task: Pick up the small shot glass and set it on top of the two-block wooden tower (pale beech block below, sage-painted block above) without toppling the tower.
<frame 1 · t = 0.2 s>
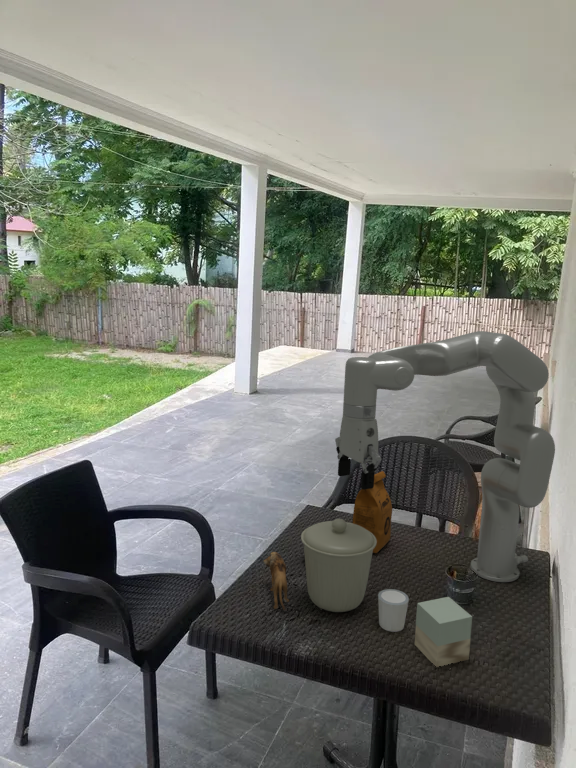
hand: (355, 481, 136), 31 cm above the table, tool pointing down, fingers open, 9 cm apart
shot glass: (391, 625, 132), on the table
tower top: (442, 631, 122), point 5 cm above the table, touching tower base
canister: (335, 601, 141), on the table
coffee package: (371, 546, 171), on the table
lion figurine: (277, 596, 143), on the table
tower base: (441, 652, 123), on the table, touching tower top
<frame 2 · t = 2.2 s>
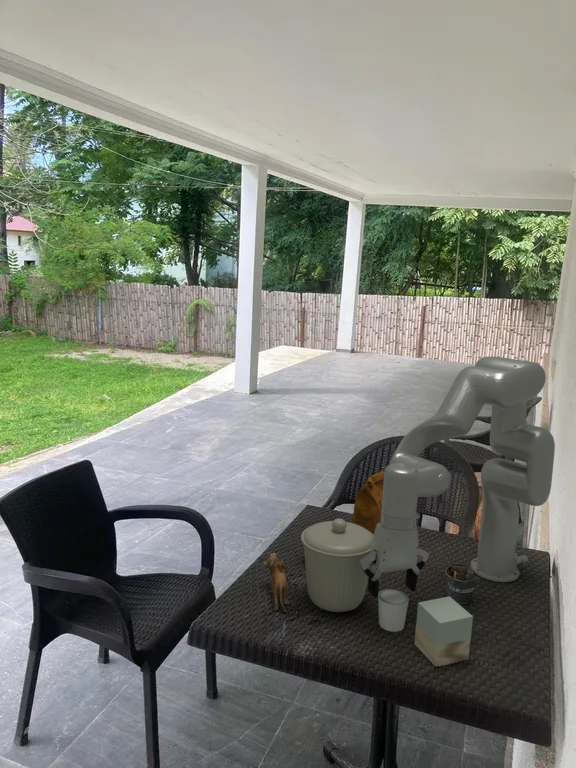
hand: (392, 591, 130), 8 cm above the table, tool pointing down, fingers open, 9 cm apart
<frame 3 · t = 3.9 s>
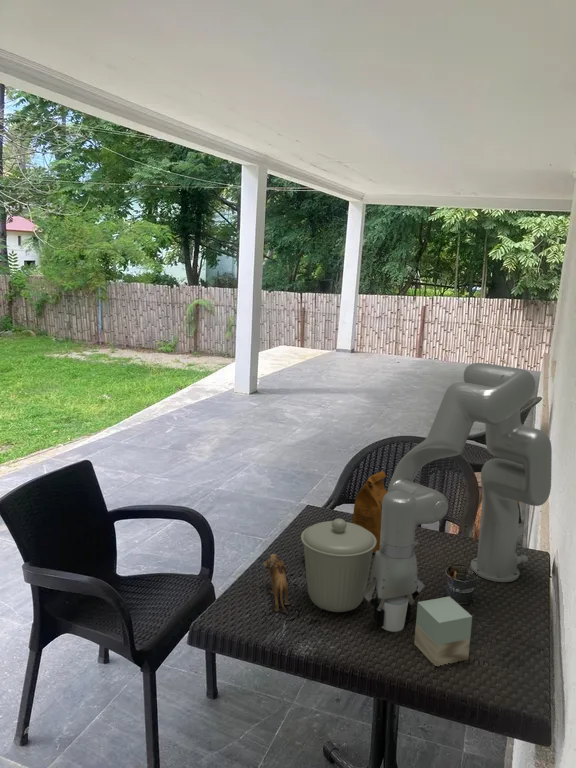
hand: (391, 619, 132), 1 cm above the table, tool pointing down, fingers closed on shot glass, 6 cm apart
shot glass: (391, 625, 132), on the table, touching gripper
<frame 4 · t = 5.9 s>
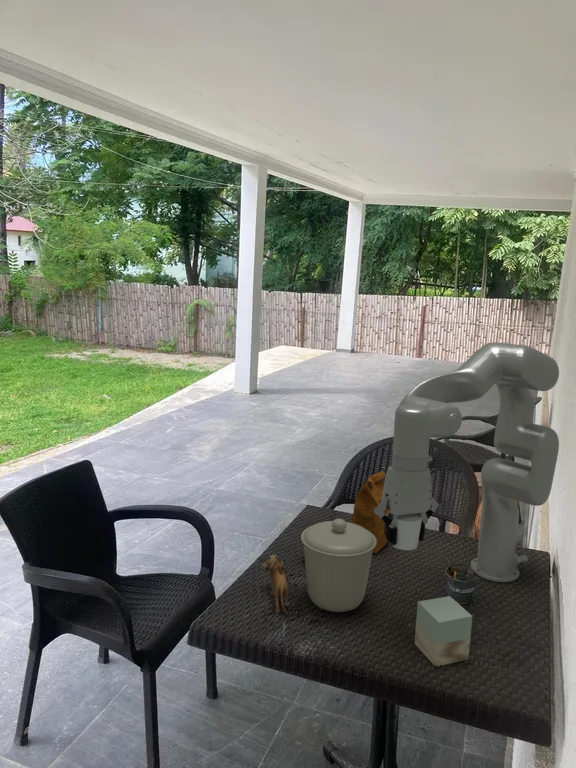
hand: (404, 539, 127), 21 cm above the table, tool pointing down, fingers closed on shot glass, 6 cm apart
shot glass: (404, 545, 127), point 20 cm above the table, touching gripper
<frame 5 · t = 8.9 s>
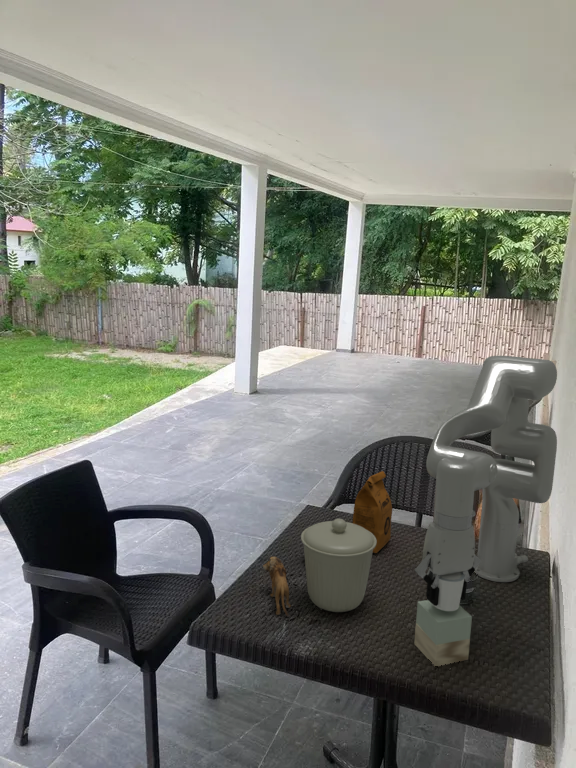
hand: (445, 598, 121), 12 cm above the table, tool pointing down, fingers closed on shot glass, 6 cm apart
shot glass: (445, 604, 121), point 11 cm above the table, touching gripper
when the fingers open (12 cm above the table, at t = 9.2 s): shot glass drops 1 cm, resting on tower top.
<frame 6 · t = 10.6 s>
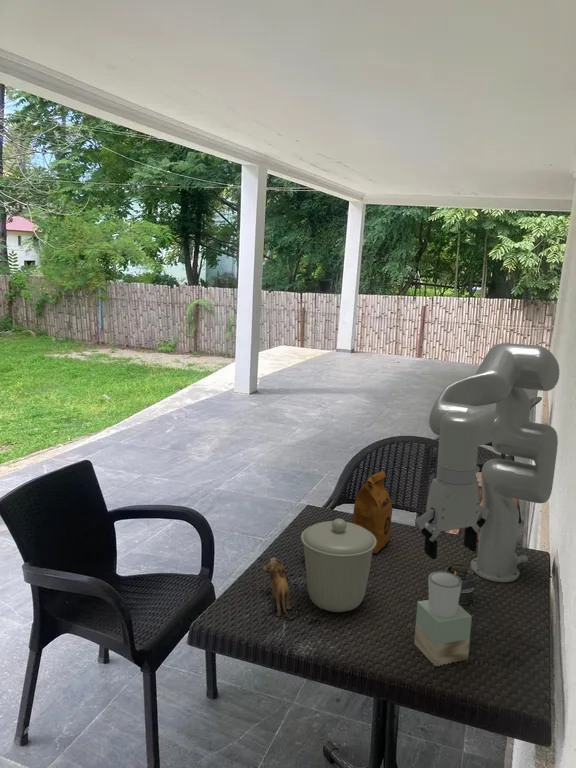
hand: (450, 552, 119), 22 cm above the table, tool pointing down, fingers open, 9 cm apart
shot glass: (442, 610, 121), point 10 cm above the table, touching tower top
tower top: (442, 630, 122), point 5 cm above the table, touching shot glass, tower base
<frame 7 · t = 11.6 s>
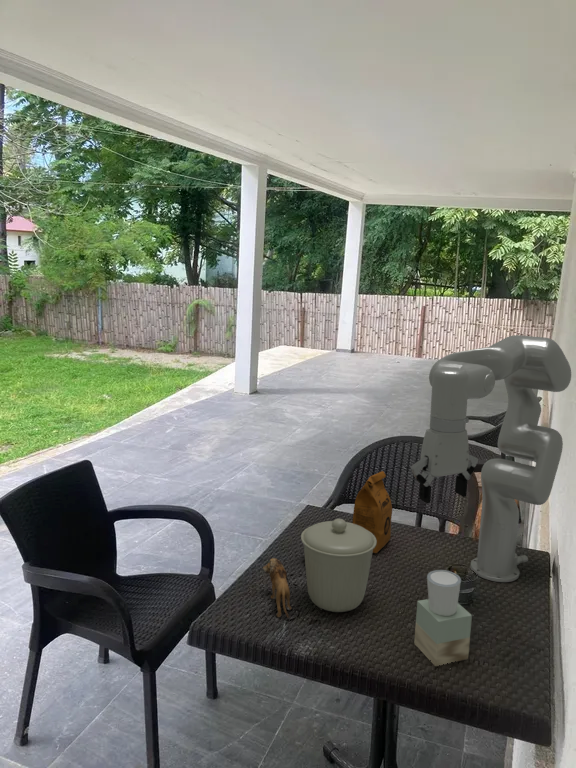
hand: (442, 497, 129), 30 cm above the table, tool pointing down, fingers open, 9 cm apart
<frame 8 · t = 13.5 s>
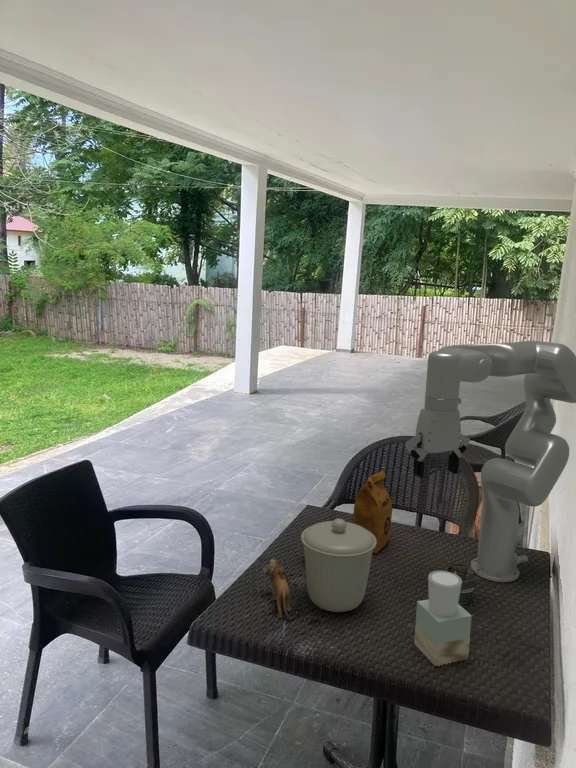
hand: (435, 474, 138), 32 cm above the table, tool pointing down, fingers open, 9 cm apart
at the end: shot glass 0.4 cm from the tower top (horizontally); shot glass point 9.6 cm above the table; tower top tilted 0° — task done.
